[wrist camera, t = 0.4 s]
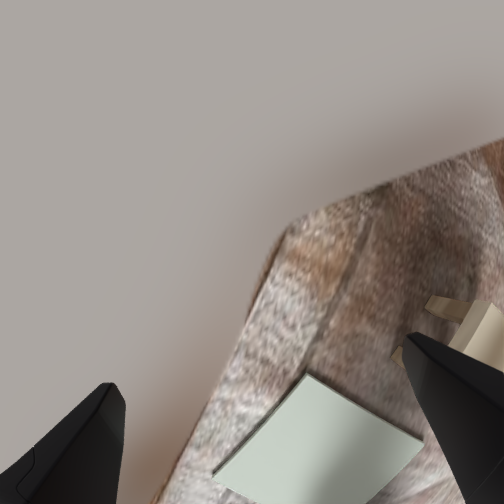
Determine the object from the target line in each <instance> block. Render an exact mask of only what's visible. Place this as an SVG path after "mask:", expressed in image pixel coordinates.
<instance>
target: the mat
mask: <svg viewBox="0 0 504 504" xmlns="http://www.w3.org/2000/svg"><path fill="white" fill-rule="evenodd" d="M424 445H425V444H424V442H423V441H421V440H419V439H417V438H415V437H414V436H412V435H410V434H408V433H406V432H404V431H403V430H401V429H399V428H397V427H396V426H394V425H392V424H390V423H389V422H387V421H385V420H383V419H382V418H380V417H378V416H376V415H375V414H373V413H371V412H370V411H368V410H366V409H365V408H363V407H361V406H360V405H358V404H356V403H355V402H353V401H351V400H350V399H348V398H346V397H345V396H343V395H342V394H340V393H338V392H337V391H335V390H333V389H332V388H330V387H329V386H327V385H326V384H324V383H322V382H321V381H319V380H318V379H316V378H315V377H313V376H311V375H310V374H308V373H307V372H306V374H305V375H304V376H303V377H302V379H301V380H300V381H299V382H298V383H297V385H296V386H295V387H294V388H293V389H292V391H291V392H290V393H289V394H288V395H287V397H286V398H285V399H284V400H283V401H282V402H281V404H280V405H279V406H278V407H277V408H276V409H275V410H274V412H273V413H272V414H271V415H270V416H269V417H268V418H267V419H266V421H265V422H264V423H263V424H262V425H261V426H260V427H259V428H258V429H257V430H256V432H255V433H254V434H253V435H252V436H251V437H250V438H249V439H248V440H247V441H246V442H245V443H244V444H243V445H242V446H241V447H240V448H239V449H238V451H237V452H236V453H235V454H234V455H233V456H232V457H231V458H230V459H229V460H228V461H227V462H226V463H225V464H224V465H223V466H222V467H221V468H220V469H219V470H218V471H217V472H215V473H214V474H213V475H212V480H213V481H215V482H217V483H219V484H221V485H223V486H225V487H226V488H228V489H230V490H232V491H234V492H236V493H238V494H240V495H242V496H244V497H246V498H248V499H251V500H253V501H255V502H257V503H259V504H366V503H367V502H368V501H369V500H370V499H371V498H373V497H374V496H375V495H376V494H377V493H378V492H379V491H380V490H381V489H382V488H384V487H385V486H386V485H387V484H388V483H389V482H390V481H391V480H392V479H393V478H394V477H395V476H396V475H397V474H398V473H399V472H400V471H401V470H402V469H403V468H404V467H405V466H406V465H407V464H408V463H409V462H410V461H411V460H412V458H413V457H414V456H415V455H416V454H417V453H418V452H419V451H420V450H421V449H422V447H423V446H424Z"/></svg>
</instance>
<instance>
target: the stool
mask: <svg viewBox="0 0 504 504" xmlns="http://www.w3.org/2000/svg"><path fill="white" fill-rule="evenodd" d="M424 308H425V309H427V310H428V311H429V312H430V313H431V314H433V315H434V316H437V317H440V318H443V319H447V320H450V321H453V322H456V323H459V324H461V325H460V327H459V329H458V330H457V332H456V334H455V335H454V337H453V338H452V340H451V342H450V343H449V345H448V346H449V347H451V348H453V349H455V350H457V351H460V352H462V353H464V354H466V355H468V356H470V357H472V358H474V359H477V360H479V361H481V362H483V363H485V364H487V365H489V366H492V367H494V368H496V369H498V370H500V371H502V372H504V315H503V314H502V313H501V312H500V311H499V309H498V308H497V307H496V306H495V305H494V304H493V303H492V302H488V301H482V300H476V299H475V301H474V302H473V303H470V302H465V301H460V300H455V299H450V298H445V297H440V296H435V295H431V297H430V299H429V300H428V302H427V304H426V305H425V307H424ZM402 349H403V348H402V347H401V346H398V348H397V349H396V350H395V352H394V353H393V355H392V356H391V357H390V358H391V359H392V360H393V361H394V362H396V363H397V364H398V365H399V366H401V367H402V368H403V369H404V370H406V369H405V367H404V364H403V362H402Z"/></svg>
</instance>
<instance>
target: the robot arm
mask: <svg viewBox="0 0 504 504" xmlns="http://www.w3.org/2000/svg"><path fill="white" fill-rule="evenodd" d="M402 362H403V364H404V367H405V369H406V372H407V374H408V377H409V379H410V382H411V385H412V387H413V390H414V393H415V395H416V398H417V400H418V402H419V404H420V406H421V408H422V410H423V412H424V414H425V416H426V418H427V420H428V422H429V424H430V426H431V428H432V430H433V432H434V434H435V436H436V438H437V440H438V442H439V445H440V447H441V449H442V451H443V453H444V455H445V457H446V459H447V462H448V464H449V466H450V468H451V470H452V473H453V475H454V477H455V479H456V482H457V484H458V486H459V488H460V491H461V493H462V495H463V498H464V500H465V503H466V504H504V372H502V371H500V370H498V369H496V368H494V367H492V366H489V365H487V364H485V363H483V362H481V361H479V360H477V359H474V358H472V357H470V356H468V355H466V354H464V353H462V352H460V351H457V350H455V349H453V348H451V347H449V346H447V345H445V344H442V343H440V342H438V341H436V340H434V339H432V338H430V337H428V336H425V335H423V334H421V333H419V332H414V333H411V334H407V335H406V336H405V338H404V343H403V349H402ZM125 411H126V404H125V400H124V398H123V397H122V395H121V393H120V391H119V390H118V388H117V386H116V385H115V384H114V383H102V384H100V385H99V386H98V387H97V388H96V389H95V390H94V391H93V392H92V393H90V394H89V395H88V396H87V397H86V398H85V399H84V400H83V401H82V402H81V403H80V404H79V405H77V407H75V408H74V409H73V410H72V411H71V412H70V413H69V414H68V415H67V416H66V417H64V418H63V419H62V420H61V421H60V422H59V423H58V424H57V425H56V426H55V427H54V428H53V429H52V430H50V431H49V432H48V433H47V434H46V435H45V436H44V437H43V438H42V439H41V440H40V441H39V442H37V443H36V444H35V445H34V447H32V448H31V449H30V450H29V451H28V452H27V453H26V454H24V456H22V457H21V458H20V459H19V460H18V461H17V462H15V463H14V464H13V465H12V466H10V467H9V468H8V469H7V470H5V471H4V472H3V473H1V474H0V504H116V499H117V491H118V482H119V475H120V468H121V461H122V453H123V445H124V427H125Z"/></svg>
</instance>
